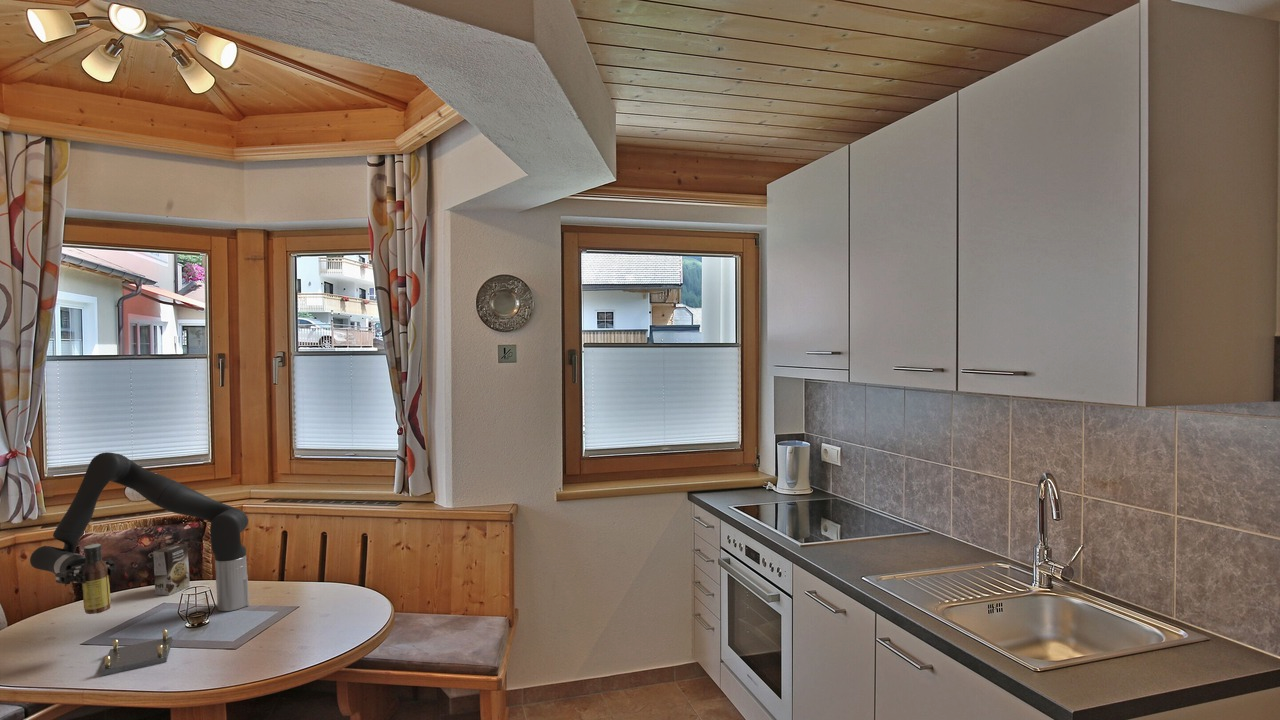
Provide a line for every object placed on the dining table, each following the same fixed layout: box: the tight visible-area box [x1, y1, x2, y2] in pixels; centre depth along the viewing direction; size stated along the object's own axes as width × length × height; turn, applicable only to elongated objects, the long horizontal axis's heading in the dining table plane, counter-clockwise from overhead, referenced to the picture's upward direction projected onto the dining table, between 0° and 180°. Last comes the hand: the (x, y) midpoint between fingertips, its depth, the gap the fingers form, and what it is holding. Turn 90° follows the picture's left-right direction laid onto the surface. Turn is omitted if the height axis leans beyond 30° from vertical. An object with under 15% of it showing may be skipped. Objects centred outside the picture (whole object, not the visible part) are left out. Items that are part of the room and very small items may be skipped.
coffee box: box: [152, 543, 191, 596], centre depth 249 cm, size 9×6×16 cm
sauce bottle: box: [81, 543, 112, 615], centre depth 200 cm, size 6×6×20 cm
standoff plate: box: [99, 628, 173, 677], centre depth 197 cm, size 15×15×4 cm
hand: (98, 576), depth 199 cm, fingers closed on sauce bottle, 6 cm apart
